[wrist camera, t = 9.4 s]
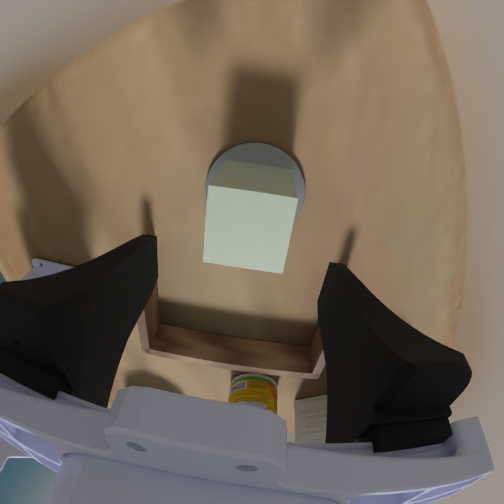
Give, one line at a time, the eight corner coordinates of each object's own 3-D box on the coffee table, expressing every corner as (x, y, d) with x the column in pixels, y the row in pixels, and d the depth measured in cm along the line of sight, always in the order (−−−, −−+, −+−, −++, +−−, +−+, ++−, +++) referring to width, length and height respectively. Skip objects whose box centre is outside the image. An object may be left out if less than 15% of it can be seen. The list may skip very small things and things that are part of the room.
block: (220, 219, 22) (203, 261, 17) (226, 159, 20) (208, 185, 15) (280, 228, 22) (282, 273, 17) (291, 169, 20) (298, 198, 15)
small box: (301, 418, 36) (302, 486, 27) (293, 398, 34) (294, 475, 25) (359, 407, 35) (369, 476, 25) (358, 386, 32) (370, 463, 23)
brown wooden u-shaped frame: (153, 327, 29) (142, 352, 26) (146, 237, 24) (129, 259, 21) (315, 352, 29) (317, 379, 26) (347, 268, 24) (355, 294, 21)
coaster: (203, 227, 23) (202, 229, 23) (211, 136, 20) (210, 137, 19) (294, 240, 23) (294, 243, 23) (313, 151, 20) (313, 152, 19)
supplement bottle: (272, 399, 34) (269, 469, 25) (228, 393, 34) (218, 463, 25) (281, 374, 31) (280, 453, 23) (233, 368, 31) (221, 446, 23)
